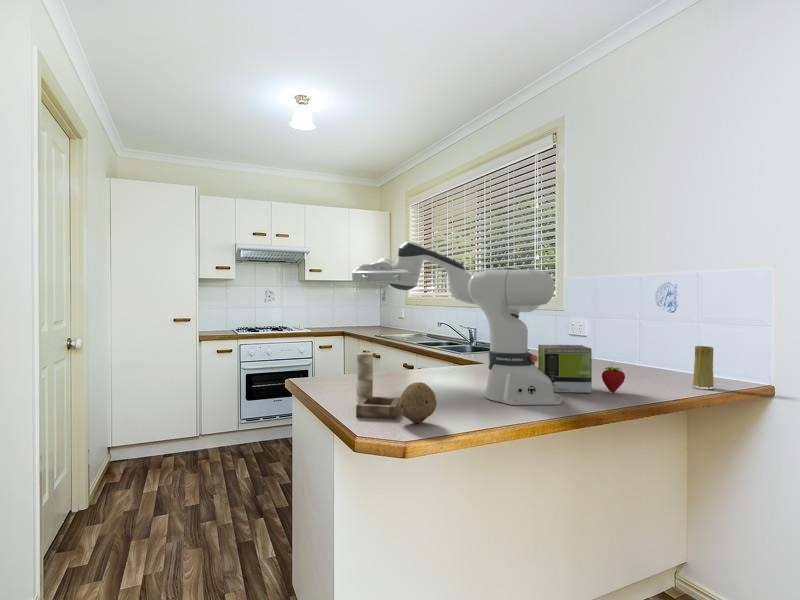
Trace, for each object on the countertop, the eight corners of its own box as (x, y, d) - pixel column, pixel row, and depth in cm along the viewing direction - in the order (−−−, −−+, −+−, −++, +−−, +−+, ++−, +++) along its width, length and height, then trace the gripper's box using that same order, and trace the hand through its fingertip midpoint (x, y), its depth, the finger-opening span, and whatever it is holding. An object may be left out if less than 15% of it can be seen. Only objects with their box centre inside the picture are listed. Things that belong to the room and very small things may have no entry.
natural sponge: (444, 425, 107) (445, 384, 107) (412, 431, 103) (413, 387, 103) (423, 416, 115) (424, 377, 115) (393, 421, 111) (393, 380, 111)
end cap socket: (399, 408, 123) (400, 397, 123) (395, 418, 113) (395, 406, 113) (363, 407, 124) (363, 396, 124) (356, 417, 114) (356, 405, 114)
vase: (718, 390, 152) (719, 348, 152) (699, 390, 152) (700, 347, 152) (706, 386, 158) (707, 345, 158) (688, 386, 158) (689, 345, 158)
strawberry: (629, 394, 144) (630, 363, 144) (609, 395, 142) (609, 363, 142) (616, 390, 150) (617, 360, 150) (596, 391, 148) (597, 360, 148)
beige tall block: (370, 399, 132) (370, 352, 132) (372, 403, 129) (373, 354, 128) (356, 400, 131) (357, 352, 131) (358, 403, 128) (359, 354, 127)
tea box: (582, 387, 154) (583, 344, 154) (591, 394, 144) (592, 348, 144) (537, 386, 155) (538, 343, 155) (543, 392, 145) (544, 346, 145)
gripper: (410, 281, 166) (409, 288, 153) (356, 281, 168) (349, 288, 154) (410, 264, 165) (409, 270, 152) (355, 264, 166) (349, 270, 153)
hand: (379, 279), depth 153 cm, fingers open, 8 cm apart
